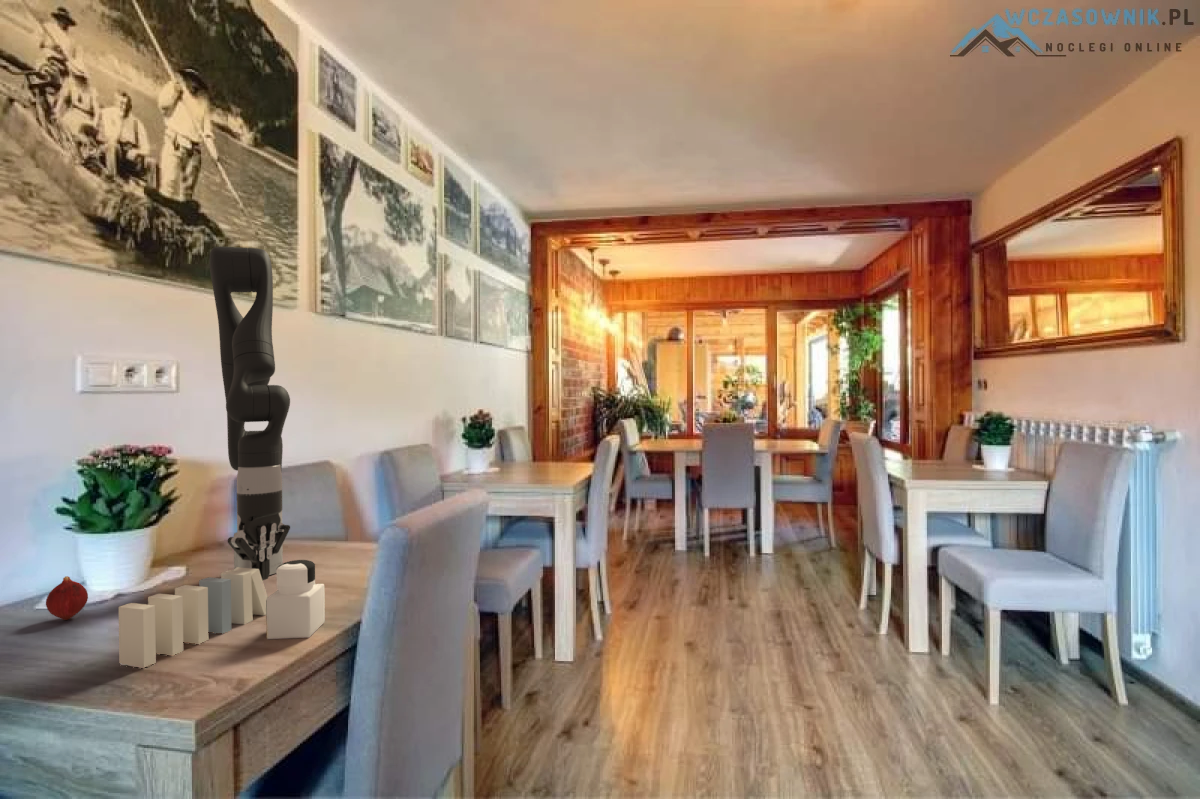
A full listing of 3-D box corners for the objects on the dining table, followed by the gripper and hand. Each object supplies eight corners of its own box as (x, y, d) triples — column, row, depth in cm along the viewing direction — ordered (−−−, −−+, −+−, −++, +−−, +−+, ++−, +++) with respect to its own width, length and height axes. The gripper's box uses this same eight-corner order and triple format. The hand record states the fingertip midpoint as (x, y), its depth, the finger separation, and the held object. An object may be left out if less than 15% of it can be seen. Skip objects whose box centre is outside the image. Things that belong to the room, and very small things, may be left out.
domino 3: (175, 641, 100) (174, 588, 100) (185, 637, 102) (184, 585, 101) (198, 644, 98) (198, 590, 98) (208, 640, 100) (207, 587, 100)
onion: (95, 615, 112) (94, 573, 112) (59, 627, 107) (58, 582, 107) (75, 612, 114) (74, 570, 114) (38, 623, 109) (38, 579, 109)
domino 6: (243, 613, 113) (229, 572, 110) (250, 607, 114) (237, 567, 112) (264, 615, 111) (251, 574, 109) (271, 609, 113) (258, 569, 110)
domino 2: (148, 653, 95) (148, 597, 95) (159, 648, 97) (159, 593, 97) (172, 656, 94) (172, 599, 94) (183, 651, 96) (182, 595, 96)
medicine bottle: (284, 624, 107) (283, 557, 107) (325, 622, 108) (324, 556, 108) (265, 640, 100) (264, 569, 100) (309, 638, 101) (308, 567, 101)
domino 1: (119, 665, 91) (118, 606, 91) (131, 660, 93) (130, 602, 93) (144, 668, 90) (143, 609, 90) (155, 663, 92) (155, 605, 91)
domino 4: (199, 631, 104) (199, 580, 104) (209, 627, 106) (208, 577, 106) (222, 634, 103) (221, 582, 103) (231, 630, 105) (230, 579, 104)
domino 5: (222, 622, 108) (220, 573, 108) (231, 618, 110) (229, 570, 110) (244, 624, 107) (242, 575, 107) (252, 620, 109) (251, 572, 109)
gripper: (246, 495, 106) (248, 592, 106) (301, 484, 119) (303, 571, 119) (213, 494, 108) (214, 589, 108) (271, 483, 121) (272, 569, 121)
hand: (261, 579), depth 114 cm, fingers closed
